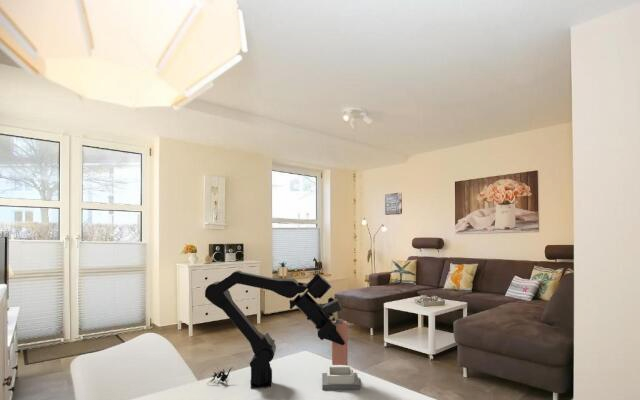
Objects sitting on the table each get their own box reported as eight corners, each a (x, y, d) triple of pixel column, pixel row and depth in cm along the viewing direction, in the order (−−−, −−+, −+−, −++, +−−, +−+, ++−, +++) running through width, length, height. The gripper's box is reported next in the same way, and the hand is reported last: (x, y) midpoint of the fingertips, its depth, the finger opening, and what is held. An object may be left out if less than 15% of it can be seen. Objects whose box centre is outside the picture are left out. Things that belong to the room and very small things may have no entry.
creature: (203, 386, 129) (217, 387, 124) (201, 369, 130) (215, 369, 125) (222, 379, 135) (236, 379, 130) (220, 363, 136) (234, 362, 131)
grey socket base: (322, 389, 122) (322, 376, 122) (322, 377, 132) (322, 365, 132) (359, 389, 122) (359, 376, 122) (356, 377, 132) (356, 365, 132)
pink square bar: (332, 365, 125) (332, 321, 126) (332, 360, 130) (332, 317, 131) (347, 365, 125) (347, 321, 126) (346, 360, 130) (346, 318, 131)
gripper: (328, 296, 120) (363, 332, 119) (326, 287, 139) (357, 317, 138) (303, 321, 120) (338, 358, 119) (305, 309, 138) (336, 340, 137)
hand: (343, 341), depth 128 cm, fingers closed on pink square bar, 5 cm apart
